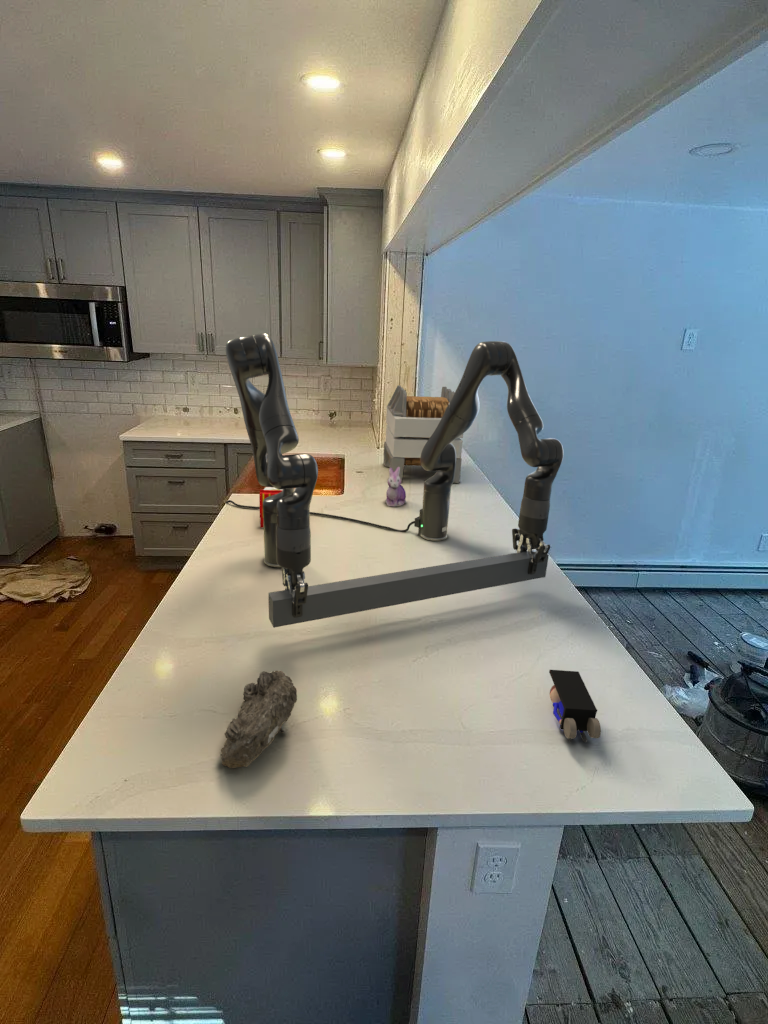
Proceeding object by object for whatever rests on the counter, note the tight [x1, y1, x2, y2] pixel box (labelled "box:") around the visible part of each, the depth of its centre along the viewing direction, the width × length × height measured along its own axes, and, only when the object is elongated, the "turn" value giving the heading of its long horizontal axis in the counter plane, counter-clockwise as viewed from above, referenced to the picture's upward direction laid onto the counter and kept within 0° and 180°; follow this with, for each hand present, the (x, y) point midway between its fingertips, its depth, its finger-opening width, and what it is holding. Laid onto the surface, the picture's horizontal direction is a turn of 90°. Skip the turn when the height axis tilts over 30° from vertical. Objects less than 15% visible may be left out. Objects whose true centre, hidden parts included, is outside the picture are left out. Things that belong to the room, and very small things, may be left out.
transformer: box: [383, 384, 464, 484], centre depth 268 cm, size 34×33×41 cm
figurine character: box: [548, 669, 602, 743], centre depth 110 cm, size 7×8×15 cm
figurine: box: [385, 467, 407, 507], centre depth 228 cm, size 9×10×15 cm
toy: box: [258, 487, 296, 529], centre depth 211 cm, size 12×13×30 cm
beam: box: [267, 549, 550, 629], centre depth 143 cm, size 77×4×7 cm, turn 115°
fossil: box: [220, 670, 298, 769], centre depth 104 cm, size 22×10×15 cm
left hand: (294, 611), depth 130 cm, fingers closed on beam, 4 cm apart
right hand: (526, 569), depth 157 cm, fingers closed on beam, 4 cm apart
